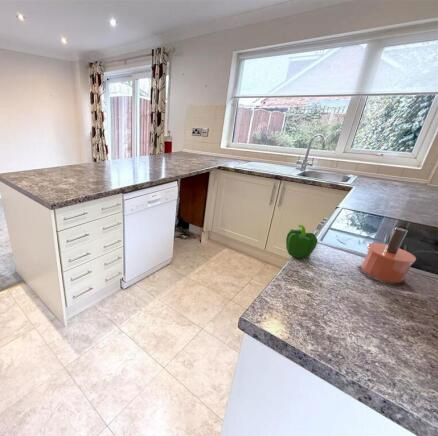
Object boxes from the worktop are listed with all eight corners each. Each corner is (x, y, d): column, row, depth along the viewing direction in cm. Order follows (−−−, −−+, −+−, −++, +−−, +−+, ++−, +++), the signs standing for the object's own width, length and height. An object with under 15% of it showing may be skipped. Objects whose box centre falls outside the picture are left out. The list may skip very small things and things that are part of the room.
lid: (400, 250, 73) (413, 225, 70) (423, 268, 64) (439, 241, 61) (359, 243, 76) (370, 219, 73) (376, 260, 67) (388, 233, 64)
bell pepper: (314, 264, 76) (324, 235, 72) (284, 258, 79) (293, 230, 75) (308, 251, 84) (317, 224, 80) (281, 246, 86) (288, 220, 82)
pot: (391, 269, 75) (401, 249, 72) (409, 287, 67) (421, 265, 64) (355, 262, 78) (363, 243, 75) (368, 279, 70) (378, 258, 67)
